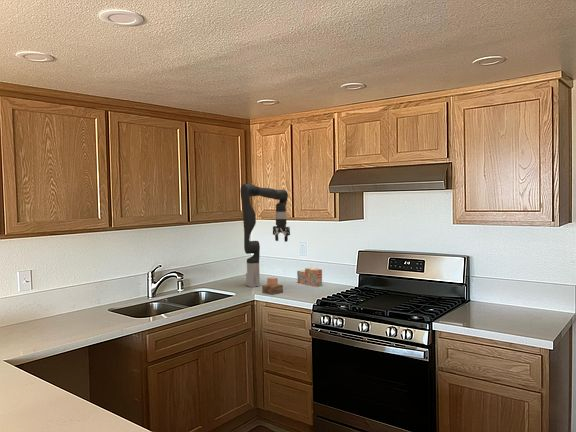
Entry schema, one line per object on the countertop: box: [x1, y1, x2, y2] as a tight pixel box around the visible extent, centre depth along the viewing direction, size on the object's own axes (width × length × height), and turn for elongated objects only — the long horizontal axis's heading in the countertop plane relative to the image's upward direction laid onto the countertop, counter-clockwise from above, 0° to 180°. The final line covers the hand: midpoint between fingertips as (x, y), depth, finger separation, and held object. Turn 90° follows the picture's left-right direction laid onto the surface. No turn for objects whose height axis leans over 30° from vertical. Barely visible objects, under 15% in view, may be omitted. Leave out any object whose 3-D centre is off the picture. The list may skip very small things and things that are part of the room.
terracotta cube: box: [266, 277, 279, 286], centre depth 332 cm, size 5×5×5 cm
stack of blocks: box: [296, 267, 323, 288], centre depth 360 cm, size 21×6×12 cm, turn 38°
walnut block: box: [261, 283, 284, 296], centre depth 332 cm, size 10×10×5 cm
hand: (281, 241), depth 341 cm, fingers open, 8 cm apart
